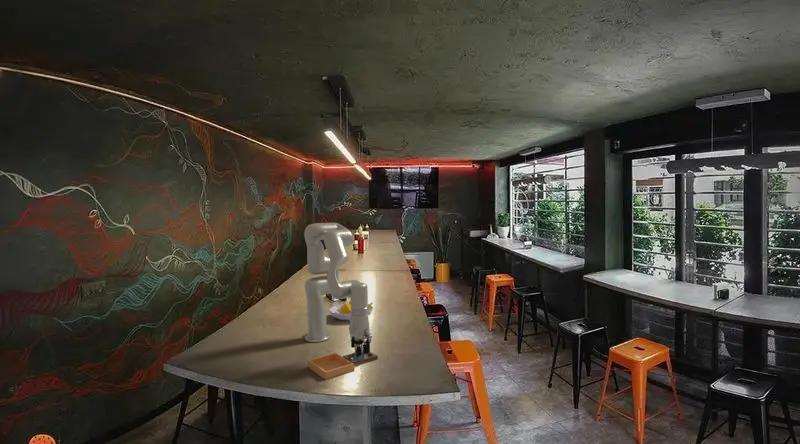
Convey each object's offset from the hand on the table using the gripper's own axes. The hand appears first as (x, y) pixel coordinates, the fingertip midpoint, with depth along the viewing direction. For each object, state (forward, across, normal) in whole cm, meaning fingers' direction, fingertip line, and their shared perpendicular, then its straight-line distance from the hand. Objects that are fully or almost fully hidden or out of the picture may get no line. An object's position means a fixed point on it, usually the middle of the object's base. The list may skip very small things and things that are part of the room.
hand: (360, 349), depth 172 cm
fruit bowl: (+4, -58, +31) cm, 66 cm away
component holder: (+4, 0, 0) cm, 4 cm away
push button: (+4, 0, 0) cm, 5 cm away
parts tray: (+4, +1, -15) cm, 16 cm away
